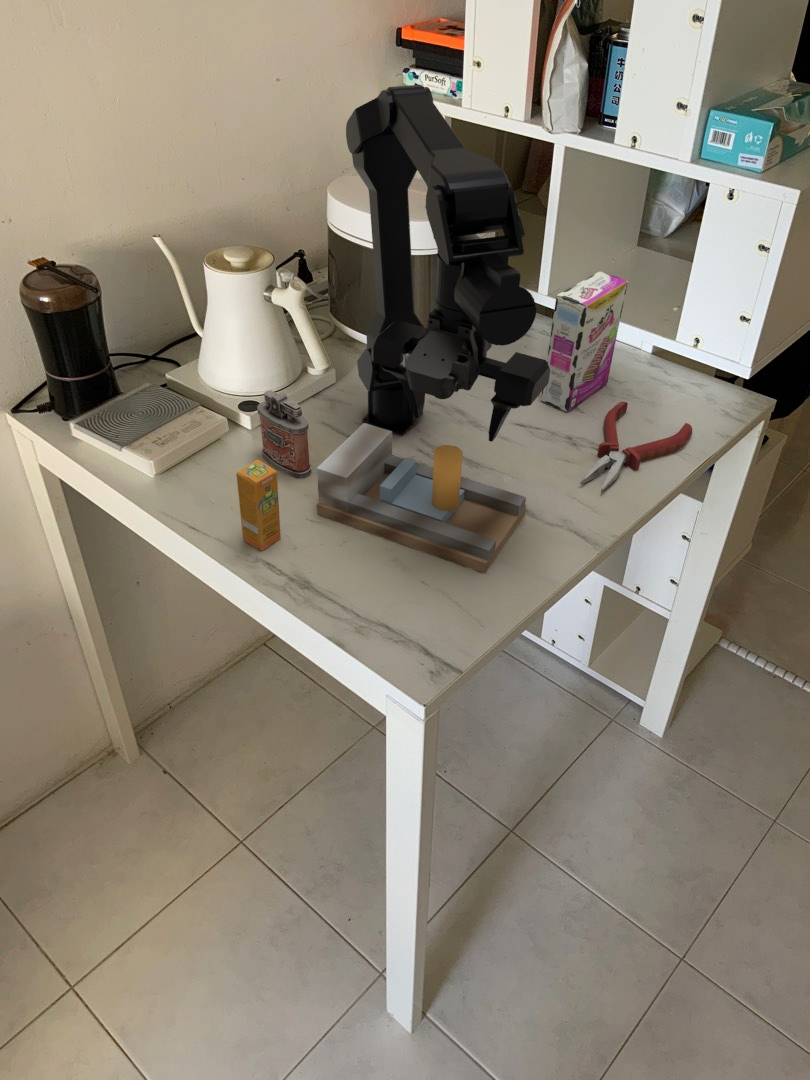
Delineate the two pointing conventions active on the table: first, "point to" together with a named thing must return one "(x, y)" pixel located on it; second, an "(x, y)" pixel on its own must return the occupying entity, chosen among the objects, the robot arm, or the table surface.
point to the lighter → (284, 435)
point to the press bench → (457, 519)
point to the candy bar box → (583, 339)
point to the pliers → (630, 448)
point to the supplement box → (259, 504)
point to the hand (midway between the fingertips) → (454, 428)
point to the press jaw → (427, 486)
